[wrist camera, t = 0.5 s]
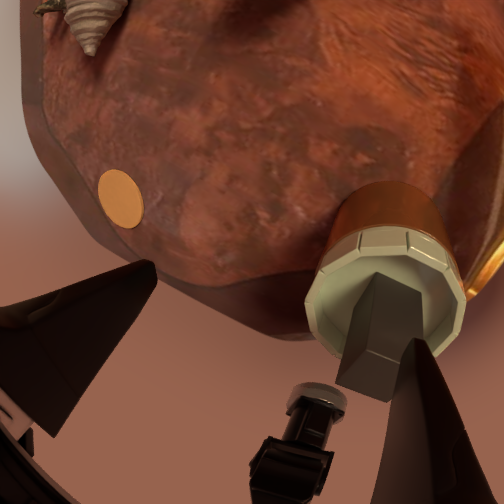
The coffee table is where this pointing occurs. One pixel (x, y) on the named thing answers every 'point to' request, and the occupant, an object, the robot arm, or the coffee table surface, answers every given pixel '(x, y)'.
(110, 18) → the seashell
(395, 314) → the block
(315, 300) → the jar
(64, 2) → the statue
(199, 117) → the coffee table surface
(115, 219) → the coaster
